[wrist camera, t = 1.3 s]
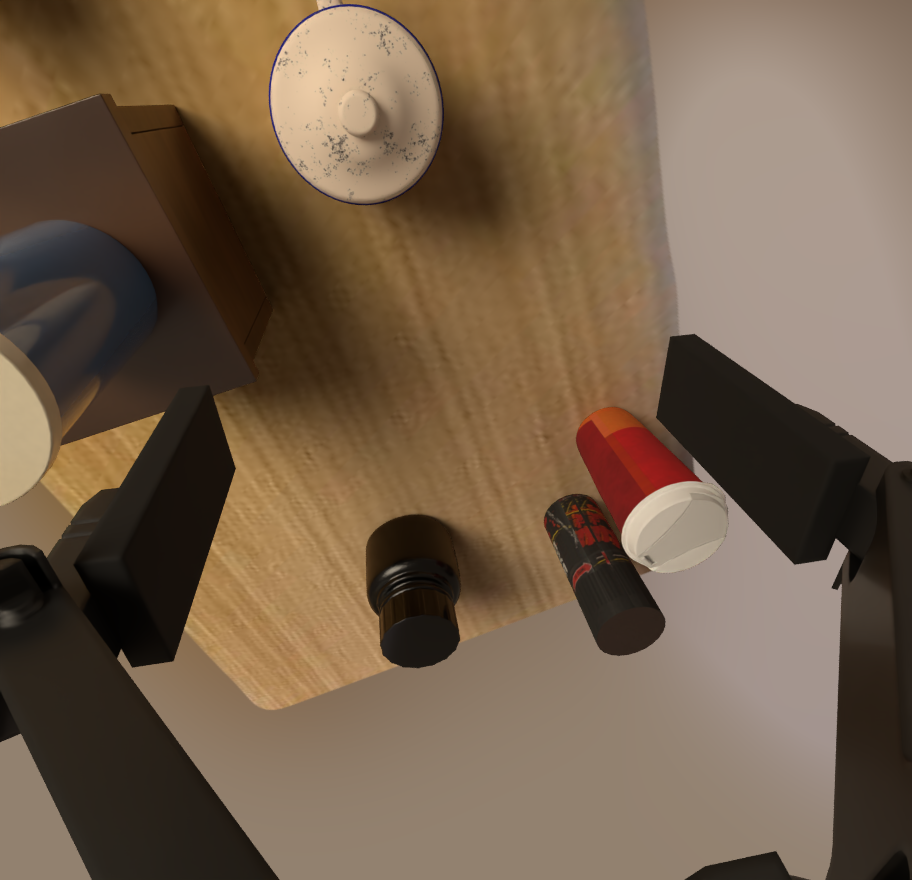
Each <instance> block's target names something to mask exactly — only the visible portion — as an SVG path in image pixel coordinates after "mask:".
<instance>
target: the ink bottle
mask: <svg viewBox="0 0 912 880" xmlns="http://www.w3.org/2000/svg"><path fill="white" fill-rule="evenodd" d="M366 584H367V598H368V602H369V604H370V606H371V608H372V610H373V611H374V612H375V613H376V614H377V615H378V616H379V628H380V646H381V649H382V654H383V656H385V657H386V658H387V659H388V660H389V661H390V662H391V663H394V664H397V665H399V666H402V667H410V668H421V667H426V666H432V665H435V664H436V663H438V662H440V661H442V660H445V659H447V658H448V656H449V655H451V654H452V653H453V652H454V651H455V650H456V648H457V645H458V643H459V641H460V635H459V628H458V623H457V618H456V613H455V607H454V606H455V604H456V603H457V601H458V599H459V596H460V592H461V580H460V573H459V569H458V564H457V559H456V555H455V550H454V548H453V543H452V539H451V537H450V534H449V533H448V531H447V530H446V529H445V527H444V526H443V525H441V524H440V523H439V522H437V521H436V520H434V519H432V518H429V517H426V516H421V515H408V516H402V517H398V518H395V519H392V520H390V521H388V522H386V523H384V524H383V525H381V526H380V527H379V528H377V529H376V530H375V531H374V532H373V533H372V535H371V536H370V538H369V540H368V542H367V546H366Z"/></svg>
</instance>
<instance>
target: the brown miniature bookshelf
mask: <svg viewBox="0 0 912 880" xmlns="http://www.w3.org/2000/svg"><path fill="white" fill-rule="evenodd" d="M48 220H65V221H72V222H77V223H81V224H84V225H87V226H90V227H93V228H95V229H98V230H100V231H102V232H104V233H106V234H107V235H109V236H111V237H112V238H114V239H115V240H117V241H118V242H119V243H121V244H122V245H123V246H125V247H126V248H127V249H128V250H129V251H130V252H131V253H132V254H133V255H134V256H135V257H136V258H137V260H138V261H139V262H140V263H141V264H142V266H143V267H144V269H145V270H146V272H147V274H148V276H149V277H150V279H151V281H152V284H153V287H154V289H155V293H156V297H157V304H158V314H157V320H156V325H155V327H154V330H153V332H152V334H151V335H150V337H149V338H148V340H147V341H146V342H145V343H144V344H143V345H142V346H141V348H140V349H139V350H138V351H137V352H136V353H135V354H134V356H133V357H132V358H131V359H130V360H129V361H128V363H127V364H126V365H125V366H124V367H123V368H122V369H121V371H120V372H119V373H118V374H117V375H116V376H115V378H114V379H113V380H112V381H111V382H110V383H109V384H108V386H107V387H106V388H105V389H104V390H103V391H102V392H101V394H100V395H99V396H98V397H97V398H96V399H95V401H94V402H93V403H92V404H91V405H90V406H89V407H88V409H87V410H86V411H85V412H84V413H83V414H82V415H81V417H80V418H79V419H78V420H77V421H76V422H75V424H74V425H73V426H72V427H71V428H70V429H69V430H68V432H67V433H66V434H65V435H64V436H63V437H62V439H61V445H64V444H67V443H70V442H74V441H77V440H80V439H83V438H86V437H89V436H92V435H95V434H98V433H101V432H104V431H107V430H110V429H113V428H116V427H119V426H122V425H125V424H128V423H131V422H134V421H137V420H140V419H143V418H146V417H150V416H153V415H156V414H159V413H162V412H165V411H166V410H167V408H168V407H169V405H170V403H171V402H172V400H173V398H174V397H175V395H176V393H177V392H178V390H179V388H185V387H195V386H204V385H209V386H210V389H211V392H212V395H216V394H219V393H222V392H226V391H229V390H232V389H235V388H238V387H241V386H244V385H247V384H250V383H253V382H256V381H257V379H258V376H259V371H258V369H257V367H256V365H255V363H254V361H253V360H254V358H255V355H256V352H257V350H258V347H259V345H260V342H261V340H262V337H263V335H264V332H265V330H266V327H267V324H268V322H269V319H270V317H271V314H272V312H273V308H272V306H271V304H270V302H269V300H268V298H267V297H266V294H265V292H264V290H263V288H262V286H261V284H260V282H259V280H258V278H257V276H256V273H255V271H254V269H253V267H252V265H251V263H250V261H249V259H248V257H247V255H246V253H245V251H244V249H243V247H242V245H241V243H240V240H239V238H238V236H237V234H236V232H235V230H234V228H233V226H232V224H231V222H230V220H229V218H228V216H227V214H226V212H225V210H224V208H223V205H222V203H221V201H220V199H219V197H218V195H217V193H216V191H215V189H214V187H213V185H212V183H211V181H210V179H209V177H208V175H207V172H206V170H205V168H204V166H203V164H202V162H201V160H200V158H199V156H198V154H197V152H196V150H195V148H194V146H193V144H192V142H191V140H190V137H189V135H188V133H187V131H186V129H185V127H184V126H183V123H182V121H181V119H180V117H179V115H178V113H177V110H176V108H175V106H174V105H147V106H116V104H115V102H114V100H113V98H112V96H111V95H110V94H97V95H94V96H91V97H88V98H85V99H82V100H79V101H76V102H74V103H71V104H68V105H65V106H62V107H59V108H56V109H53V110H50V111H47V112H44V113H41V114H38V115H35V116H32V117H30V118H27V119H24V120H21V121H18V122H15V123H12V124H9V125H6V126H3V127H0V236H1V235H4V234H7V233H9V232H12V231H15V230H17V229H20V228H22V227H25V226H28V225H30V224H33V223H37V222H41V221H48Z"/></svg>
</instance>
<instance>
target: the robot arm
mask: <svg viewBox="0 0 912 880" xmlns="http://www.w3.org/2000/svg"><path fill="white" fill-rule="evenodd" d="M656 418H657V419H658V420H659V421H660V422H661V423H662V424H663V425H664V426H665V428H666V429H667V430H668V431H669V432H670V433H671V434H672V435H673V436H674V437H675V438H676V439H677V440H678V441H679V442H680V443H681V445H682V446H683V447H684V448H685V449H686V450H687V451H688V452H689V453H690V454H691V455H692V456H693V457H694V458H695V459H696V460H697V462H699V464H700V465H701V466H702V467H703V468H704V469H705V470H706V471H707V472H708V473H709V474H710V475H711V476H712V477H713V478H714V480H715V481H716V482H717V483H718V484H719V485H720V486H721V487H722V488H723V489H724V490H725V491H726V492H727V493H728V494H729V496H730V497H731V498H732V499H734V501H735V502H736V503H737V504H738V505H739V506H740V507H741V508H742V509H743V510H744V511H745V513H747V515H748V516H749V517H750V518H751V519H752V520H753V521H754V522H755V523H756V524H757V525H758V526H759V527H760V528H761V530H762V531H763V532H764V533H765V534H766V535H767V536H768V537H769V538H770V539H771V540H772V541H773V542H774V543H775V544H776V545H777V547H778V548H779V549H780V550H781V551H782V552H783V553H784V554H785V555H786V556H787V557H788V558H789V559H790V560H791V561H792V562H793V563H794V564H802V563H809V562H814V561H821V560H826V559H827V557H828V555H829V553H830V550H831V548H832V545H833V543H834V541H835V539H837V540H839V541H840V542H841V543H842V544H843V545H844V546H845V547H846V548H847V549H848V550H849V551H848V553H847V555H846V557H845V560H844V562H843V564H842V566H841V568H840V570H839V573H838V575H837V577H836V579H835V582H834V584H833V586H832V588H833V589H836V590H838V588H839V586H840V584H842V598H841V600H842V601H841V627H840V655H839V683H838V711H837V739H836V767H835V795H834V824H833V848H832V857H831V863H830V867H829V870H828V873H827V876H826V880H912V462H910V461H901V462H894V463H893V462H891V461H890V460H888V459H887V458H885V457H884V456H882V455H881V454H879V453H878V452H877V451H875V450H873V449H872V448H871V447H869V446H868V445H866V444H865V443H863V442H862V441H860V440H859V439H857V438H856V437H854V436H853V435H849V434H848V432H847V431H845V430H844V429H843V428H841V427H840V426H835V423H834V422H832V421H831V420H829V419H828V418H826V417H825V416H823V415H822V414H820V413H819V412H817V411H814V410H812V409H809V408H807V407H804V406H802V405H799V404H794V403H793V402H791V401H790V400H788V399H787V398H786V397H784V396H783V395H781V394H780V393H778V392H777V391H776V390H774V389H773V388H771V387H770V386H769V385H767V384H766V383H764V382H763V381H761V380H760V379H758V378H757V377H756V376H754V375H753V374H751V373H750V372H748V371H747V370H746V369H744V368H743V367H741V366H740V365H738V364H737V363H736V362H734V361H732V360H731V359H729V358H728V357H727V356H725V355H724V354H722V353H721V352H720V351H718V350H717V349H715V348H714V347H713V346H711V345H710V344H708V343H707V342H705V341H704V340H702V339H701V338H700V337H698V336H697V335H695V334H691V335H681V336H672V337H670V341H669V347H668V352H667V358H666V364H665V370H664V376H663V381H662V387H661V393H660V399H659V405H658V410H657V416H656ZM235 469H236V468H235V465H234V462H233V458H232V455H231V452H230V449H229V446H228V443H227V439H226V436H225V433H224V430H223V427H222V424H221V420H220V417H219V414H218V411H217V408H216V405H215V401H214V398H213V395H212V392H211V389H210V386H209V385H204V386H195V387H185V388H179V390H178V392H177V393H176V395H175V397H174V398H173V400H172V402H171V403H170V405H169V407H168V408H167V410H166V412H165V413H164V415H163V417H162V418H161V420H160V421H159V423H158V425H157V426H156V428H155V430H154V431H153V433H152V435H151V436H150V438H149V440H148V441H147V443H146V445H145V446H144V448H143V450H142V451H141V453H140V454H139V456H138V458H137V459H136V461H135V463H134V464H133V466H132V468H131V469H130V471H129V473H128V474H127V476H126V478H125V479H124V481H123V483H122V484H121V486H120V487H119V488H114V489H105V490H101V491H99V492H98V493H97V494H96V495H94V496H93V497H92V498H91V499H89V500H88V501H87V502H86V503H84V504H83V505H82V506H81V508H80V509H79V510H78V512H77V513H76V515H75V516H74V518H73V519H72V521H71V525H69V526H68V527H67V528H66V530H65V531H64V533H63V534H62V539H59V540H58V542H57V543H56V545H55V546H54V548H53V549H52V551H51V552H50V554H49V555H48V557H47V558H46V556H45V555H44V553H43V551H42V550H40V549H39V548H37V547H35V546H34V545H16V546H11V547H6V548H2V549H0V742H2V741H4V740H6V739H9V738H11V737H14V736H16V735H18V734H22V736H23V739H24V741H25V742H26V745H27V746H28V749H29V751H30V753H31V755H32V757H33V759H34V761H35V763H36V765H37V767H38V769H39V772H40V773H41V776H42V778H43V780H44V782H45V784H46V786H47V788H48V790H49V792H50V794H51V796H52V798H53V800H54V802H55V805H56V807H57V809H58V811H59V813H60V815H61V817H62V819H63V821H64V823H65V825H66V827H67V829H68V831H69V833H70V836H71V838H72V840H73V841H74V844H75V846H76V847H77V850H78V852H79V854H80V856H81V858H82V860H83V862H84V864H85V866H86V869H87V871H88V873H89V875H90V877H91V878H92V880H279V879H278V877H277V876H276V874H275V873H274V872H273V870H272V869H271V868H270V866H269V865H268V864H267V862H266V861H265V860H264V858H263V857H262V855H261V854H260V853H259V851H258V850H257V849H256V847H255V846H254V845H253V843H252V842H251V841H250V839H249V838H248V837H247V835H246V834H245V832H244V831H243V830H242V828H241V827H240V826H239V824H238V823H237V822H236V820H235V819H234V817H233V816H232V815H231V813H230V812H229V811H228V809H227V808H226V806H225V805H224V804H223V802H222V801H221V800H220V799H219V797H218V796H217V794H216V793H215V792H214V790H213V789H212V787H211V786H210V785H209V783H208V782H207V781H206V779H205V778H204V777H203V775H202V774H201V772H200V771H199V770H198V768H197V767H196V766H195V764H194V763H193V762H192V760H191V759H190V757H189V756H188V755H187V753H186V752H185V751H184V749H183V748H182V747H181V745H180V744H179V743H178V741H177V740H176V738H175V737H174V736H173V734H172V733H171V732H170V730H169V729H168V728H167V726H166V725H165V724H164V722H163V721H162V719H161V718H160V717H159V715H158V714H157V713H156V711H155V710H154V709H153V707H152V706H151V705H150V703H149V702H148V700H147V699H146V698H145V696H144V695H143V694H142V692H141V691H140V689H139V688H138V687H137V685H136V684H135V683H134V681H133V680H132V679H131V677H130V676H129V675H128V673H127V672H126V670H125V669H124V668H123V667H122V665H121V664H120V662H119V661H118V660H117V657H118V655H119V652H120V650H121V649H122V651H123V652H124V654H125V656H126V658H127V659H128V661H129V663H130V665H131V666H132V667H139V666H146V665H152V664H159V663H164V662H172V661H174V658H175V655H176V652H177V649H178V646H179V643H180V640H181V636H182V633H183V630H184V627H185V624H186V621H187V618H188V615H189V612H190V609H191V605H192V602H193V599H194V596H195V593H196V590H197V587H198V584H199V581H200V578H201V575H202V571H203V568H204V565H205V562H206V559H207V556H208V553H209V550H210V547H211V544H212V541H213V537H214V534H215V531H216V528H217V525H218V522H219V519H220V516H221V513H222V510H223V506H224V503H225V500H226V497H227V494H228V491H229V488H230V485H231V482H232V479H233V476H234V472H235ZM685 880H809V879H804V878H801V877H797V876H791V875H789V874H788V872H787V870H786V868H785V866H784V864H783V863H782V861H781V859H780V857H779V855H778V854H777V852H776V851H774V852H770V853H765V854H761V855H756V856H751V857H746V858H742V859H737V860H733V861H728V862H723V863H718V864H714V865H709V866H705V867H704V868H702V869H700V870H699V871H697V872H696V873H694V874H693V875H691V876H690V877H688V878H687V879H685Z"/></svg>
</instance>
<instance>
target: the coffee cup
mask: <svg viewBox="0 0 912 880" xmlns="http://www.w3.org/2000/svg"><path fill="white" fill-rule="evenodd" d="M576 443H577V447H578V450H579V452H580V454H581V456H582V458H583V461H584V463H585V465H586V467H587V469H588V471H589V473H590V475H591V477H592V479H593V481H594V483H595V485H596V487H597V489H598V491H599V493H600V495H601V497H602V499H603V501H604V503H605V504H606V506H607V508H608V510H609V512H610V514H611V516H612V518H613V519H614V521H615V523H616V525H617V527H618V529H619V531H620V533H621V538H622V545H623V548H624V550H625V552H626V553H627V555H628V556H629V557H630V558H631V559H633V560H634V561H636V562H638V563H640V564H643V565H645V566H647V567H648V568H649V569H650V570H652V571H655V572H659V573H673V572H679V571H683V570H686V569H689V568H691V567H694V566H696V565H698V564H700V563H701V562H703V561H704V560H706V559H707V558H709V557H710V556H711V555H712V554H713V553H714V552H715V551H716V550H717V549H718V548H719V547H720V546H721V544H722V543H723V541H724V539H725V537H726V533H727V528H728V508H727V505H726V502H725V495H724V494H723V492H722V491H721V490H720V489H719V488H718V487H716V486H715V485H713V484H710V483H703V482H702V481H701V480H700V479H699V478H698V477H697V476H696V475H695V474H694V473H693V472H692V471H691V470H690V469H688V468H687V467H686V466H685V465H684V464H683V463H682V462H681V461H680V460H679V459H678V458H677V457H676V456H675V455H674V454H673V453H672V452H671V451H670V450H669V449H668V448H667V447H666V446H664V445H663V444H662V443H661V442H660V441H659V440H658V439H657V438H656V437H655V436H654V435H653V434H652V433H651V432H650V431H649V430H648V429H646V428H645V427H644V426H643V425H642V424H641V423H640V422H639V421H638V420H637V419H636V418H634V417H633V416H632V415H631V414H630V413H628V412H627V411H625V410H623V409H621V408H617V407H608V408H603V409H600V410H598V411H596V412H594V413H592V414H591V415H589V416H588V417H587V418H586V419H585V420H584V421H583V422H582V424H581V425H580V427H579V429H578V432H577V436H576Z"/></svg>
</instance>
